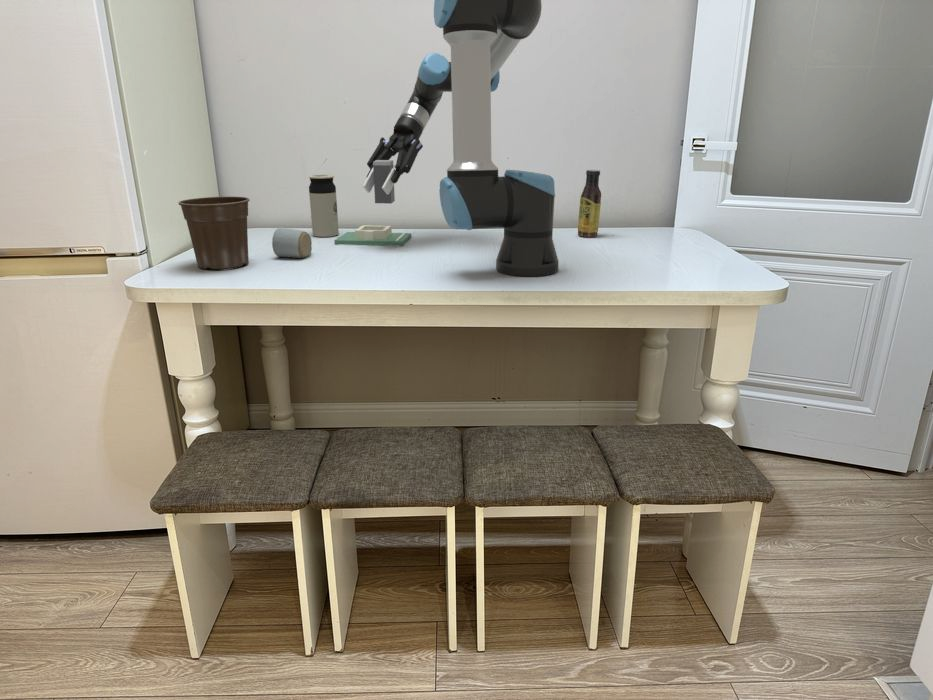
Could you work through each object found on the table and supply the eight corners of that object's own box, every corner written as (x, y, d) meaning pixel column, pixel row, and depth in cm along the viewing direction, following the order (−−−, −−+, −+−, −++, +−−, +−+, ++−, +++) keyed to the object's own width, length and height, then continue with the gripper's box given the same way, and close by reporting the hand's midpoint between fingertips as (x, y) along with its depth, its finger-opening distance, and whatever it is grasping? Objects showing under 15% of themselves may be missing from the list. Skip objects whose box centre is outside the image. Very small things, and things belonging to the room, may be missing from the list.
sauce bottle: (573, 235, 201) (577, 169, 194) (590, 233, 204) (594, 168, 197) (585, 238, 196) (589, 171, 189) (602, 237, 198) (607, 170, 191)
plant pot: (179, 264, 163) (169, 199, 158) (241, 255, 173) (234, 194, 167) (201, 276, 152) (191, 206, 146) (267, 266, 161) (260, 200, 156)
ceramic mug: (301, 260, 167) (299, 231, 164) (272, 259, 169) (270, 229, 166) (319, 253, 177) (317, 225, 174) (292, 252, 178) (289, 223, 176)
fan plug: (391, 203, 176) (389, 161, 172) (375, 203, 176) (373, 161, 172) (394, 201, 180) (393, 160, 176) (378, 200, 180) (377, 160, 176)
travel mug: (308, 236, 199) (302, 176, 192) (320, 232, 206) (316, 174, 200) (331, 238, 196) (326, 177, 190) (343, 233, 204) (339, 174, 197)
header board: (402, 245, 185) (402, 232, 184) (334, 244, 187) (333, 231, 186) (411, 236, 198) (411, 224, 197) (347, 235, 200) (347, 223, 199)
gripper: (444, 135, 179) (410, 201, 172) (391, 133, 189) (356, 196, 182) (433, 114, 173) (396, 183, 166) (378, 114, 183) (342, 178, 176)
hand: (375, 190), depth 174 cm, fingers closed on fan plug, 6 cm apart
